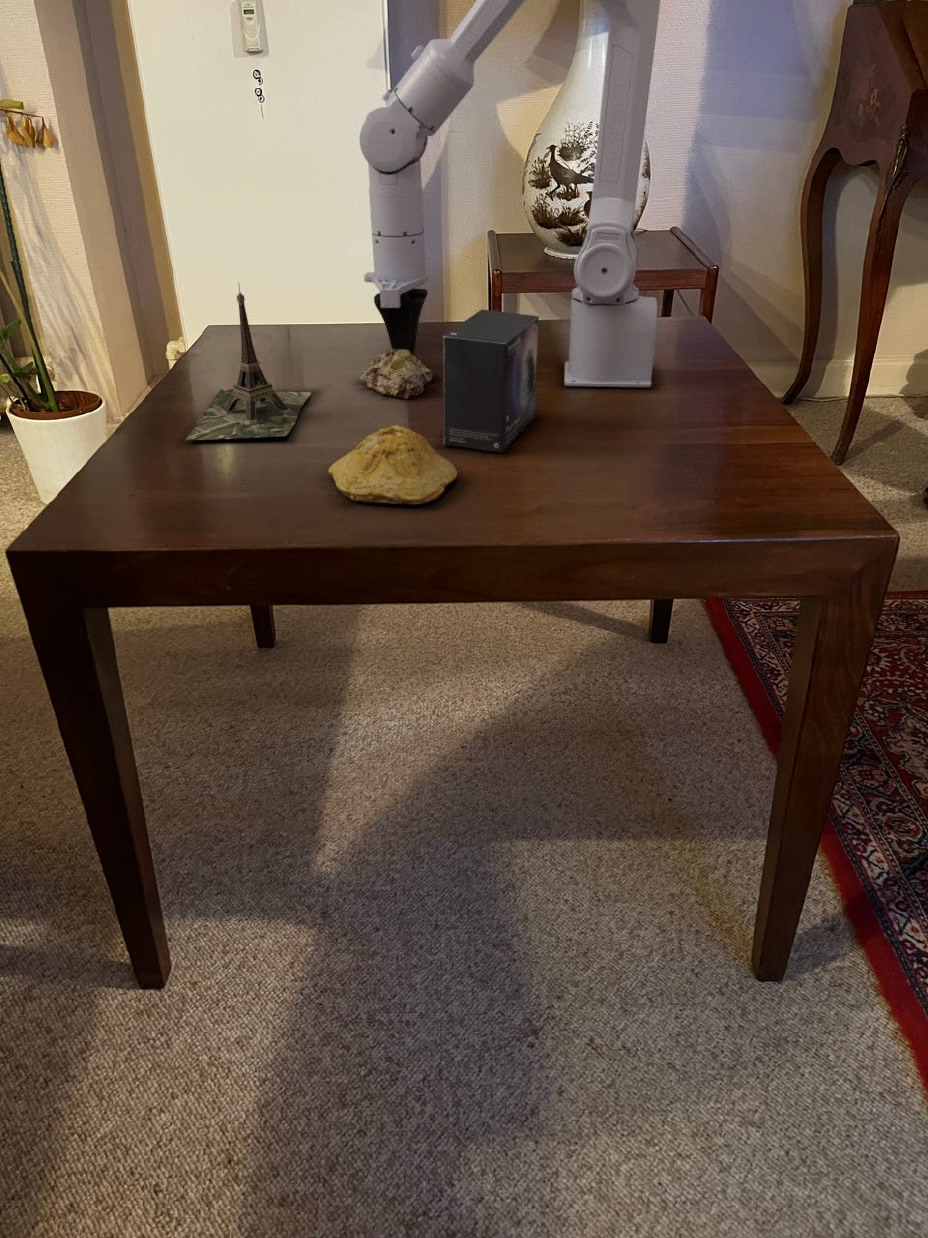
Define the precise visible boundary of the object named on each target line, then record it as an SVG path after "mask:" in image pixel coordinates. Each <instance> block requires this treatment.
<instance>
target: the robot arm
mask: <svg viewBox="0 0 928 1238" xmlns="http://www.w3.org/2000/svg"><path fill="white" fill-rule="evenodd" d="M527 1H528V0H476V1H475V2H474V3H473V4H472V6H471V7H470V9H469V10H468V12H467V13H466V15H465V16H464V17H463V19H462V21H461V22H460V23H459V24H458V26H457V27H456V29H455V30H454V32H453V33H452V34H451V36H450V37H449V38H434V39H430V41H429V42H428V43H427V44H426V45H425V47H424V46H423V45H417V46H416V48H415V49H414V50H413V52H412V53H411V55H410V58H412V60H413V63H412V64H411V66H409V68H408V69H407V71H406V72H405V73H404V76H402V78H401V79H400V80H399V81H398V83H397V84H396V86H395V87H394V88H393V89H391V88H389V89H386V91H385V92H384V93H383V95H382V97H381V98H382V100H383V101H384V104H385V106H382V107H378V108H375V109H373V110H371V111H369V112H368V113H367V114H366V116H365V120H364V122H363V124H362V126H361V128H360V132H359V147H360V150H361V153H362V156H363V158H364V159H365V161H366V162H367V166H368V184H369V186H368V194H369V210H370V211H369V212H370V228H371V243H372V255H373V256H372V257H373V259H372V260H373V271H371V272H370V271H369V272H366V273H364V275H363V281H364V283H372V284H374V286H375V287H376V288H377V290H378V291H379V292H378V293H376V294H375V295H374V296H373V303H374V305H375V307H376V309H377V311H378V313H379V314H380V317H381V319H382V321H383V322H384V325H385V329H386V331H387V335H388V339H389V343H390V347H391V349H397V350H400V349H403V350H409V351H410V353H411V354H412V355H413V356H414V353H415V349H416V343H417V335H418V327H419V321H420V317H421V312H422V309H423V306H424V304H425V301H426V298H427V296H428V290H427V289H426V288H419V287H420V286H423V285H425V284H426V283H427V282H428V273H427V271H426V252H425V251H426V250H425V221H424V190H423V189H424V188H423V184H422V166H421V165H422V163H421V159H422V157H423V156H424V154H425V152H426V149H427V147H428V140H429V138H428V137H432V136H434V135H435V134H436V133H437V131H439V130H440V128H441V127H442V126H443V124H444V123H445V122H446V121H447V120H448V118H449V117H450V116H451V114H452V113H453V112H454V110H456V108H457V107H458V106H459V104H460V103H461V102H463V99H464V98H465V97H466V96H467V94H468V93H469V92H470V91H471V89H472V88H473V87H474V85H475V74H474V73H475V71H474V70H475V63H476V61H477V60H478V59H479V58H480V56H482V54H483V53H484V52H485V50H487V48H488V47H489V46H490V45H491V44H492V43H493V41H494V40H495V39H496V38H497V36H498V35H499V34H500V33H501V31H502V30H503V29H504V28H506V26H507V25H508V23H509V22H510V21H511V20H512V19H513V18H514V17H515V15H516V13H518V12H519V10H520V9H521V8H522V7H523V6H524V4H526V2H527ZM596 2H597V3H598V4H599V5H600V7H601V8H602V9H603V10H604V12H605V13H606V14H607V16H608V18H609V23H608V33H607V44H606V52H605V54H606V55H605V65H604V73H603V82H602V83H603V84H602V92H601V93H602V94H601V104H600V113H599V124H598V134H597V141H596V142H597V143H596V152H595V153H596V155H595V163H594V172H593V174H594V175H593V182H592V183H593V184H592V194H591V202H590V209H589V216H588V221H587V229H586V236H585V238H584V240H583V242H582V245H581V249H580V251H579V252H578V254H577V256H576V259H575V261H574V265H573V276H574V280H575V283H576V287H575V288H573V289H572V290H571V303H570V325H569V345H568V346H569V348H568V360H567V361H565V362H564V383H563V384H564V386H565V387H588V388H589V387H591V388H592V387H594V388H596V387H597V388H599V387H600V388H606V387H607V388H651V387H652V384H653V383H652V376H653V367H655V359H656V350H655V345H656V335H657V322H658V321H657V320H658V318H657V317H658V302H657V298H656V297H652V296H642V295H640V290H639V287H636V285H635V284H634V283H633V282H634V280H635V277H636V271H637V263H638V260H639V244H638V241H637V239H636V236H635V232H634V222H635V213H636V201H637V192H638V187H639V186H638V185H639V177H640V170H641V169H640V168H641V160H642V152H643V146H644V145H643V144H644V136H645V130H646V129H645V128H646V120H647V113H648V104H649V97H650V88H651V80H652V72H653V66H654V57H655V47H656V42H657V41H656V40H657V33H658V24H659V18H660V17H659V15H660V7H661V0H596Z"/></svg>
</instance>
